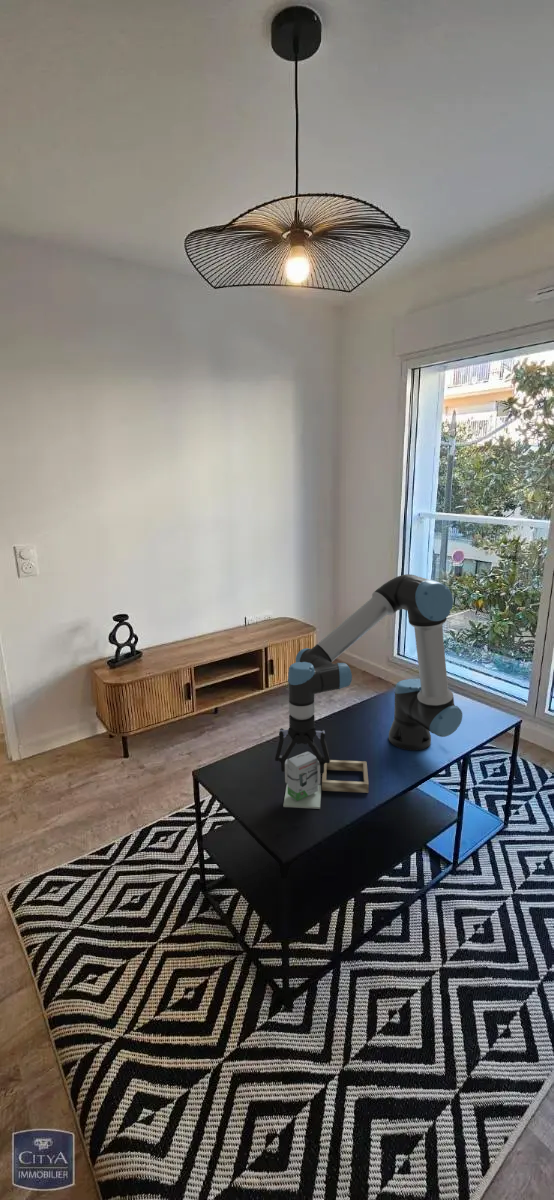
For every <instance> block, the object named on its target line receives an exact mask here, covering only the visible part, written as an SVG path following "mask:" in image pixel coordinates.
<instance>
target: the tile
mask: <svg viewBox="0 0 554 1200" xmlns="http://www.w3.org/2000/svg"><path fill="white" fill-rule="evenodd" d="M321 799H322V784H318V791H317V792H315V793H313V794H311V795H308V796H306V797H304V798H302V799H300V800H298V801H297V800H295V799H294V798H292V797H291V796H290V795H289V794H288V783H286V786H285V794H284V800H283V804H282V805H283V808H295V809H296V808H297V809H298V808H299V809H315V810H316V809H317V810H321V802H322V801H321Z"/></svg>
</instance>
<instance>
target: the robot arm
mask: <svg viewBox="0 0 554 1200" xmlns="http://www.w3.org/2000/svg"><path fill="white" fill-rule="evenodd" d="M453 606H454V597H453V594H452V592H451V590H450V588H449V587H448V586H447V585H445V584H443V583H442V582H439V581H438V580H435V579H428V578H425V577H423V576H422V577H421V576H418V575H415V574H402V575H399V576H395V577H393V578H392V579H390V580H388V581H386V582H385V583H384V584H382V585H381V586H379V587H378V588H377V589H376V590H375V591H373V592H372V595H371V598H370V599H369V600H367V602H365V603H364V604H363V605H361V606H360V607H359V608H358V609H357V610H356V611H354V612H353V613H352V614H351V615H350V616H348V617H347V618H346V619H345V620H344V621H342V622H341V623H340V624H339V625H338V626H337V627H335V628H334V629H333V630H332V631H331V632H330V633H328V634H327V635H326V636H325V637H324V638H323V639H321V640H320V641H319V642H317V644H315V645H314V646H313V647H312V648H308V647H306V648H302V649H300V650H299V651H298V652H297V654H296V656H295V662H294V663H293V662H292V664H290V666H288V672H287V683H288V714H289V715H288V717H289V718H288V720H289V721H288V723H289V725H288V729H284V728H279V731H278V732H279V733H278V737H279V741H278V745H277V749H276V753H275V757H274V761H275V762H280V770H281V772H282V773H284V783H285V784H288V777H287V760H289V756H290V754H291V752H292V751H293V749H294V747H295V745H300V744H303V745H308V748H309V747H310V749H311V750H312V754H313V755H314V756H316V758H317V759H318V765H317V769H318V785H321V774H323V773H324V764H325V763H329V762H330V760H331V756H330V752H329V749H328V745H327V741H326V730H324V729H321V730H317V729H316V727H315V726H316V725H315V694H321V693H326V692H330V691H331V692H333V691H336V690H341V689H344V688H347V687H349V686H350V685H351V683H352V680H353V675H352V671H351V668H350V666H349V665H348V664H347V663H346V662H336V663H333V662H334V661H335V660H336V659H337V658H338V657H340V656H341V655H342V654H343V653H344V652H345V651H347V650H348V649H349V648H350V647H352V645H354V644H355V643H356V642H357V641H358V640H359V639H361V638H362V637H363V636H364V635H365V634H367V633H368V632H369V631H370V630H371V629H372V628H374V627H375V626H376V625H377V624H378V623H379V622H380V621H382V620H383V619H385V617H386V616H392V615H395V613H396V612H397V611H401V610H404V611H407V618H408V619H407V620H408V624H409V625H411V626H412V627H414V636H415V645H416V655H417V656H416V657H417V663H418V671H419V672H418V673H419V674H418V675H419V679H415V678H410V679H409V678H408V679H403V680H399V681H398V682H397V683H396V684H395V689H394V707H393V708H394V713H393V715H394V716H393V721H392V723H391V726H390V729H389V731H388V741H389V742H390V743H391V744H392V745H393V746H394V747H396V748H398V749H401V750H406V751H422V750H425V749H427V748H429V747H430V746H431V743H432V735H431V734H434V735H436V736H437V737H441V738H445V737H449V736H451V735H452V734H454V733H455V732H456V730H458V729H459V727H460V726H461V724H462V721H463V711H462V709H461V708H460V706H458V705H455V699H454V694H453V691H452V690H451V689H450V688H448V687H449V686H448V685H449V684H448V678H447V677H448V675H447V674H448V673H447V666H446V665H447V664H446V663H447V662H446V656H445V655H446V654H445V652H446V651H445V644H444V643H445V642H444V631H443V625H444V623H446V622H447V617H448V616H449V615H450V614H451V610H452V609H453ZM287 735H289V737H290V738H291V739H290V741H289V743H288V745H287V747H286V748H285V750H284V752H283V754H282V755H281V752H282V748H283V744H284V740H285V738H286V737H287ZM315 736H317V738H318V739H319V740H320V746H321V748H322V749H321V750H322V752H323V754H322V753H321V751H320V749H319V747H318V745H317V744H316V742H315V739H314V738H315Z"/></svg>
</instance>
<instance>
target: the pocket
mask: <svg viewBox="0 0 554 1200" xmlns="http://www.w3.org/2000/svg"><path fill="white" fill-rule="evenodd" d="M367 764H368V763H367V761H365V760H363V761H360V760H342V759H341V760H339V759H330V762H329V763H325V764H324V773H321V774H322V775H321V777H322V778H321V792H322V791H323V792H324V791H326V792H345V793H346V792H347V793H362V794H363V793H364V794H365V793H367V794H368V793H369V789H370V788H369V785H370V784H369V776H368V775H369V774H368V765H367ZM327 771H344V772H345V771H349V772H350V771H351V772H362V776H363V778H362V780H363V781H356V780H355V781H354V780H334V779H333V780H331V779H327V775H328V773H327Z"/></svg>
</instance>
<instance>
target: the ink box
mask: <svg viewBox="0 0 554 1200" xmlns="http://www.w3.org/2000/svg"><path fill="white" fill-rule="evenodd" d="M317 765H318V759H317V758H316V756H315V754H314V753H313V752H310V751H305V752H302V753H300V754H297V755H295V756H292V757H290V758H289V757H288V760H287V777H288V783H287V784H288V794H289V795H290V796H291V797H292V798H294V799H295V800H297V801H298V800H300V799H302V798H304V797H306V796H308V795H311V794H313V793H315V792H317V791H318V785H319V784H318V769H317Z"/></svg>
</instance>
